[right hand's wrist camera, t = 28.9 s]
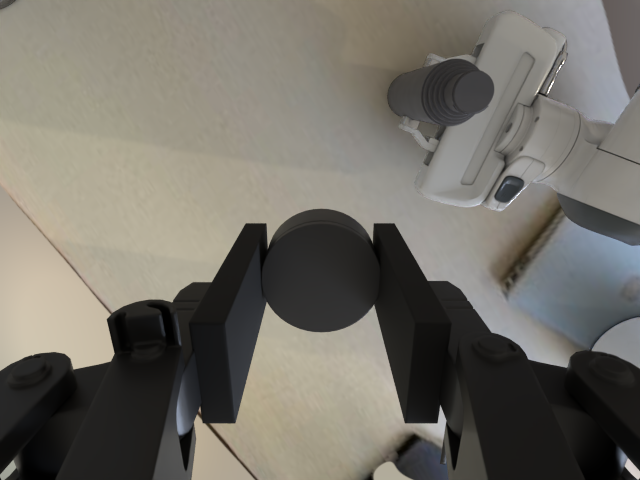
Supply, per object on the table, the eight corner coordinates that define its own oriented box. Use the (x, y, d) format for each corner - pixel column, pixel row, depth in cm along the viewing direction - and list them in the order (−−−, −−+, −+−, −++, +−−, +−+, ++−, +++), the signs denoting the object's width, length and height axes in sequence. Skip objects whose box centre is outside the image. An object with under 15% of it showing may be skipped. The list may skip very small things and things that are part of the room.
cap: (303, 322, 15) (301, 350, 14) (246, 242, 14) (236, 261, 12) (393, 276, 15) (402, 300, 13) (341, 187, 13) (344, 201, 12)
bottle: (378, 95, 48) (421, 91, 27) (411, 63, 47) (482, 33, 26) (405, 126, 49) (466, 146, 28) (437, 95, 48) (527, 93, 27)
